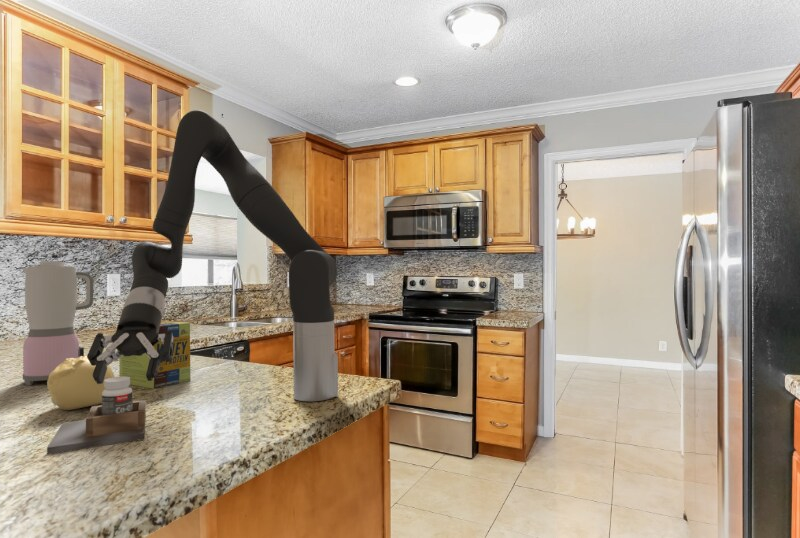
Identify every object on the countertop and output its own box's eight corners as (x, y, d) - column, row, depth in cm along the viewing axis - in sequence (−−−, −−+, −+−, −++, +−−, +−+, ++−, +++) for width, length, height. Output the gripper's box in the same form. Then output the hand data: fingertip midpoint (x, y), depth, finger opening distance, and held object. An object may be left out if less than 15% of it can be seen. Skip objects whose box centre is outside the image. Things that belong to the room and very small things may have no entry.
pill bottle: (118, 430, 81) (118, 382, 81) (95, 428, 82) (95, 381, 82) (138, 421, 86) (138, 376, 86) (116, 420, 87) (116, 375, 87)
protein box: (154, 389, 114) (153, 326, 114) (118, 382, 122) (118, 323, 122) (191, 380, 123) (191, 322, 124) (156, 375, 131) (156, 319, 131)
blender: (19, 388, 117) (19, 260, 117) (24, 379, 127) (24, 262, 127) (94, 379, 126) (93, 261, 126) (93, 371, 136) (93, 262, 136)
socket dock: (145, 417, 92) (145, 396, 92) (144, 439, 79) (144, 415, 79) (62, 428, 86) (62, 406, 86) (47, 454, 73) (47, 428, 73)
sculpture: (56, 402, 103) (56, 354, 103) (119, 396, 108) (118, 350, 108) (38, 417, 93) (38, 363, 93) (108, 410, 97) (108, 358, 97)
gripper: (99, 302, 94) (74, 371, 82) (176, 300, 97) (161, 366, 86) (109, 326, 99) (87, 393, 87) (182, 323, 102) (169, 388, 91)
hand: (124, 380), depth 86 cm, fingers open, 8 cm apart
